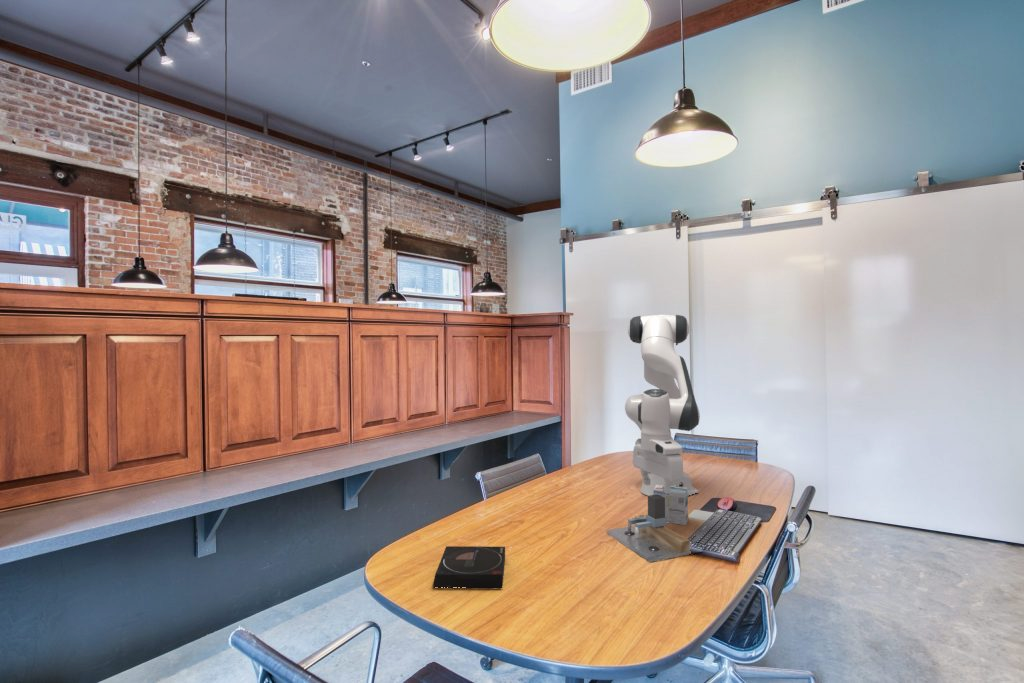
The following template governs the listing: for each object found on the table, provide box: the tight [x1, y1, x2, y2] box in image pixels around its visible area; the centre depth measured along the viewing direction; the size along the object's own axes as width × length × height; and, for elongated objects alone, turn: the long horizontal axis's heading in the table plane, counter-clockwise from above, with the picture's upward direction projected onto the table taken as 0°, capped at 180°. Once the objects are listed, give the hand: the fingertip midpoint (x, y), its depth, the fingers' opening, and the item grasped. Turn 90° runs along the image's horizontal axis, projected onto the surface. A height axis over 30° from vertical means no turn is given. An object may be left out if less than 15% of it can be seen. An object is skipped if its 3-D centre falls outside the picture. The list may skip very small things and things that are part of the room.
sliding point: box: [635, 494, 668, 538], centre depth 150 cm, size 10×4×12 cm, turn 111°
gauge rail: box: [627, 514, 691, 553], centre depth 148 cm, size 9×22×4 cm, turn 21°
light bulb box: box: [653, 485, 689, 526], centre depth 166 cm, size 11×7×11 cm, turn 65°
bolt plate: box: [606, 525, 692, 563], centre depth 148 cm, size 18×22×1 cm
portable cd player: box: [432, 545, 506, 589], centre depth 129 cm, size 16×17×4 cm
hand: (656, 488), depth 150 cm, fingers open, 8 cm apart
